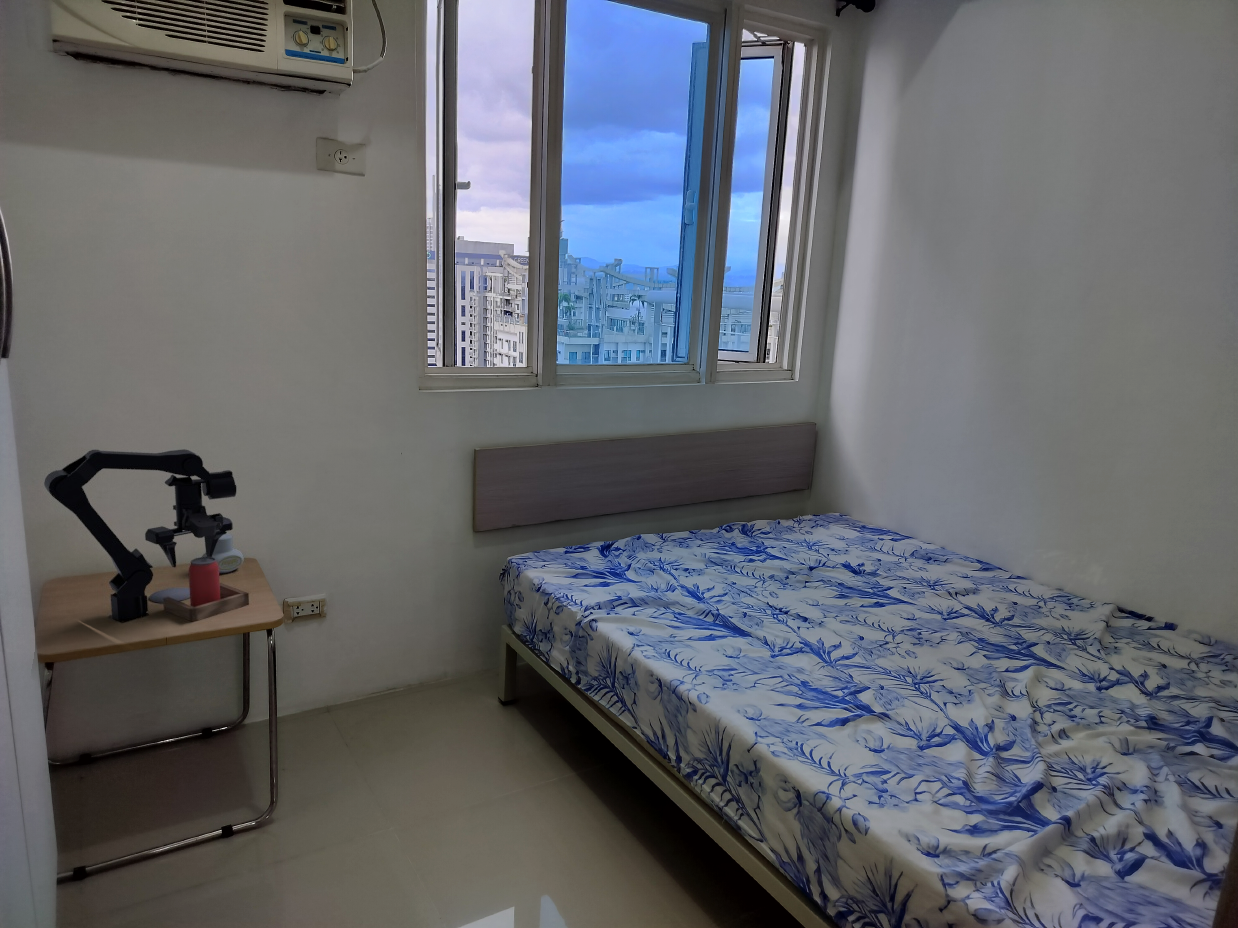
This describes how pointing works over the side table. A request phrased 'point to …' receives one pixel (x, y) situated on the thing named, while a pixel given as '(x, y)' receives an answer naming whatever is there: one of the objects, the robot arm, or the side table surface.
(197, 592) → the beer can
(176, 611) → the tray
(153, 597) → the coaster
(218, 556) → the air freshener
